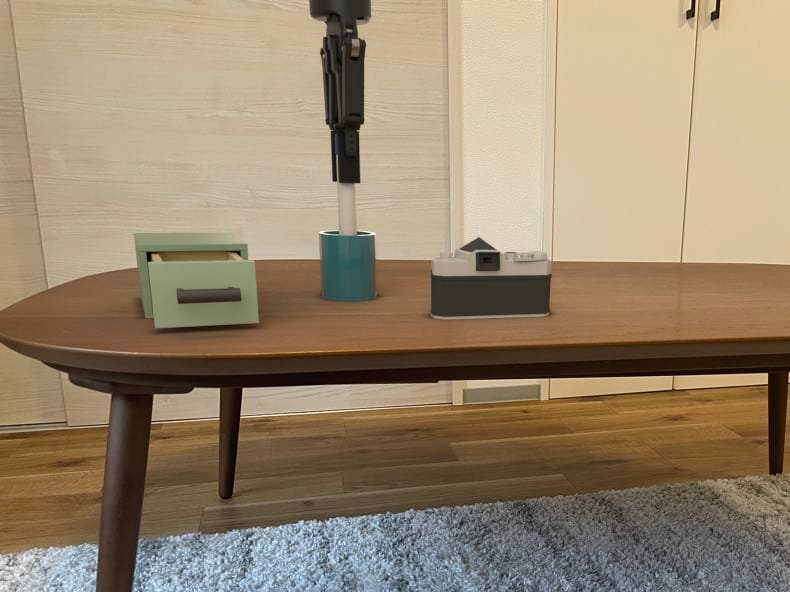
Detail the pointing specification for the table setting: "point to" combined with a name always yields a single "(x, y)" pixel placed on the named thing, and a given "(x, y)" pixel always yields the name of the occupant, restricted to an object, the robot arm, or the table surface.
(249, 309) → the drawer
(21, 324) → the table surface
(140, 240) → the cabinet
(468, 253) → the camera
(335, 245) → the pen cup
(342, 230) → the marker
